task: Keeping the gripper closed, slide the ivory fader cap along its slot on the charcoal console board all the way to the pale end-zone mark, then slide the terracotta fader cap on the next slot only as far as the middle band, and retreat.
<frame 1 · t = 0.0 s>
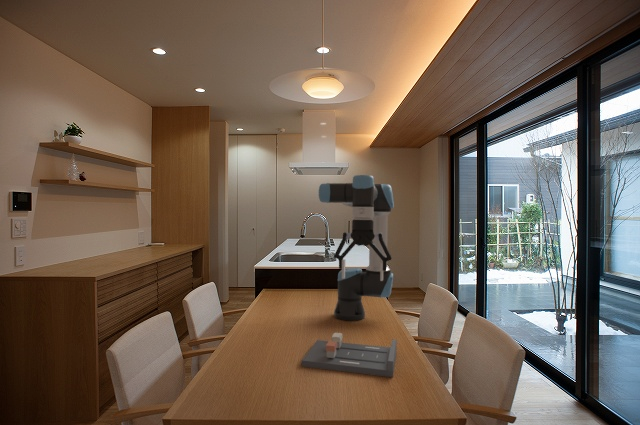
hand: (362, 279, 132), 28 cm above the table, fingers open, 13 cm apart
fader a: (337, 340, 136), point 4 cm above the table, slide at 0.0 cm
console: (351, 359, 130), on the table
fader b: (331, 349, 127), point 4 cm above the table, slide at 0.0 cm
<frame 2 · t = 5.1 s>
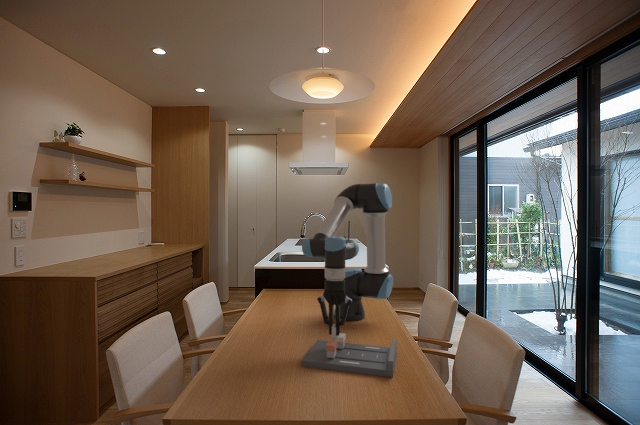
hand: (334, 343, 136), 3 cm above the table, fingers closed
fader a: (340, 341, 136), point 4 cm above the table, slide at 1.2 cm, touching gripper
everything else where it was.
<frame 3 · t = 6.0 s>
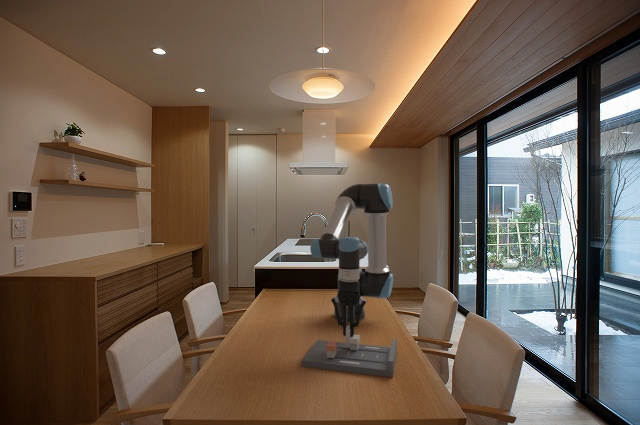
hand: (348, 344, 135), 3 cm above the table, fingers closed
fader a: (354, 342, 134), point 4 cm above the table, slide at 6.5 cm, touching gripper
everything else where it was.
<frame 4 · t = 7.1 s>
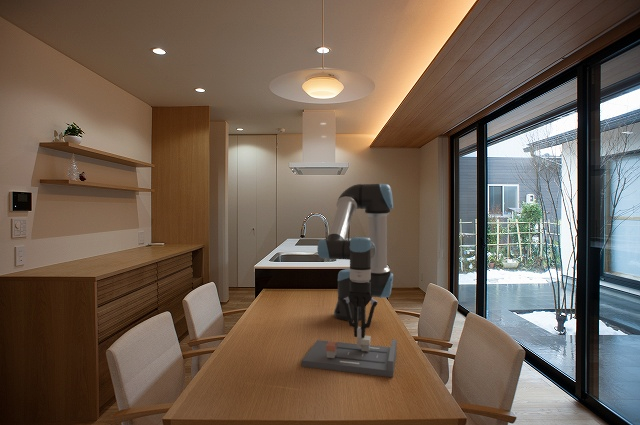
hand: (359, 345, 134), 3 cm above the table, fingers closed
fader a: (365, 343, 133), point 4 cm above the table, slide at 10.5 cm, touching gripper
everything else where it was.
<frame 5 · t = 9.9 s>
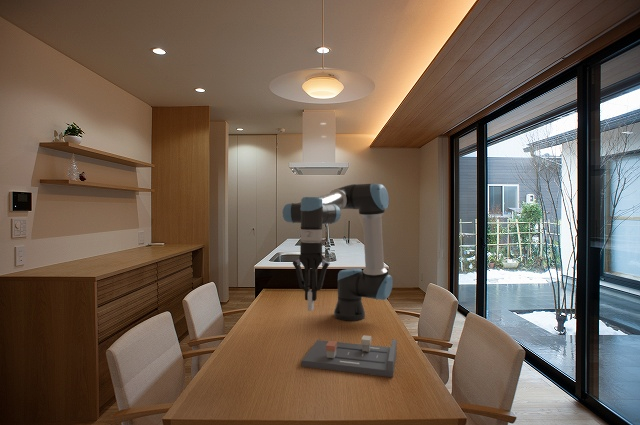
hand: (310, 309, 129), 18 cm above the table, fingers closed
fader a: (366, 343, 133), point 4 cm above the table, slide at 10.7 cm
everything else where it was.
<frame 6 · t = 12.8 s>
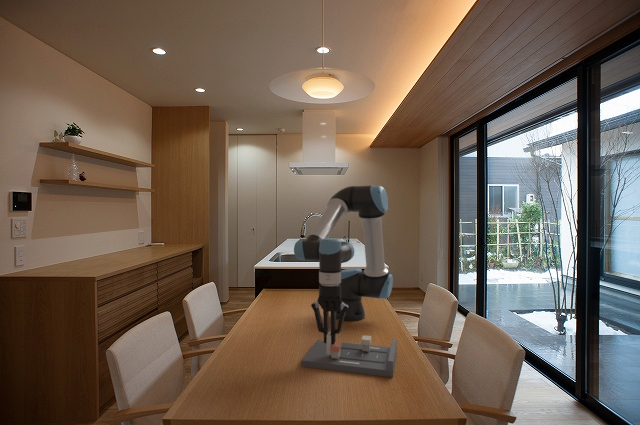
hand: (329, 352, 128), 3 cm above the table, fingers closed
fader b: (335, 350, 127), point 4 cm above the table, slide at 1.5 cm, touching gripper
everything else where it was.
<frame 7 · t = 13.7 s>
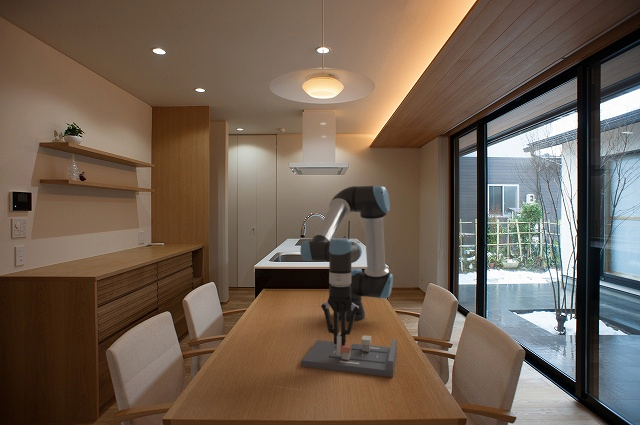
hand: (339, 353, 127), 3 cm above the table, fingers closed
fader b: (346, 351, 126), point 4 cm above the table, slide at 5.1 cm, touching gripper
everything else where it was.
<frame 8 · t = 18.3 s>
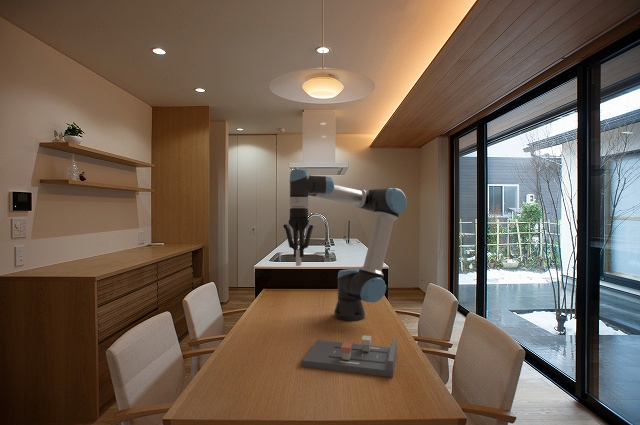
hand: (298, 265, 153), 29 cm above the table, fingers closed
fader b: (346, 351, 126), point 4 cm above the table, slide at 5.2 cm
everything else where it was.
at the end: fader a slide at 10.7 cm; fader b slide at 5.2 cm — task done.
